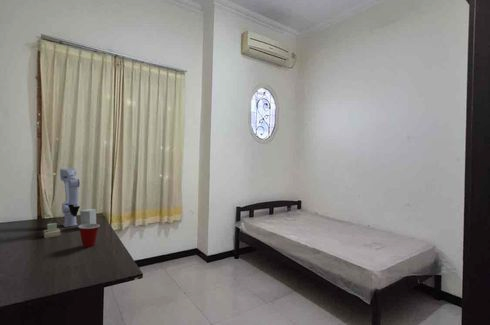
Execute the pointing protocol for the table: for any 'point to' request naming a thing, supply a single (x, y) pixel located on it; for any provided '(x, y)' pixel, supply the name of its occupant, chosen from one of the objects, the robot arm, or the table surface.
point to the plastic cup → (88, 234)
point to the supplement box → (88, 216)
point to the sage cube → (51, 227)
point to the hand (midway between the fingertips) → (73, 215)
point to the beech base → (51, 233)
